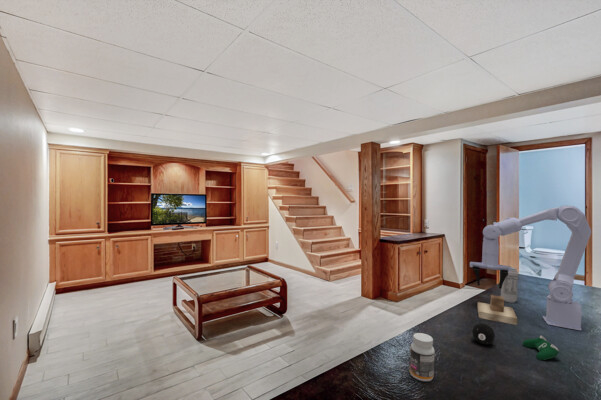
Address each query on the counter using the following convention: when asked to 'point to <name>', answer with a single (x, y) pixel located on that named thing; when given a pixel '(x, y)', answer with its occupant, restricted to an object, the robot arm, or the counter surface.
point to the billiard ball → (483, 333)
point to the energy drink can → (510, 286)
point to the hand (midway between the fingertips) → (489, 286)
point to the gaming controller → (542, 348)
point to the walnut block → (497, 303)
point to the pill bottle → (422, 357)
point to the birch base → (496, 314)
